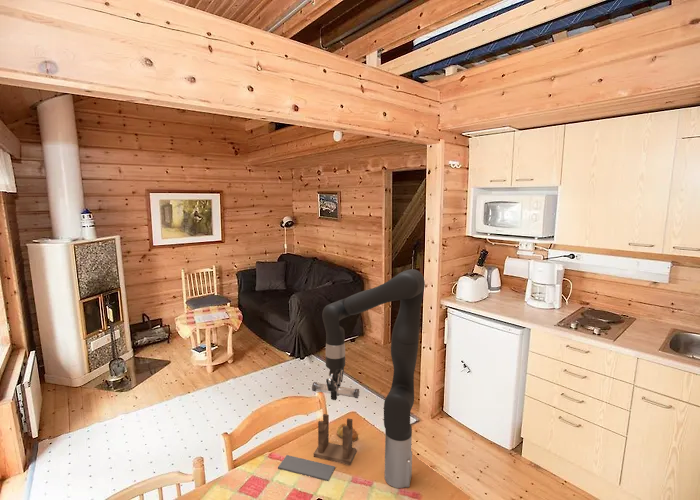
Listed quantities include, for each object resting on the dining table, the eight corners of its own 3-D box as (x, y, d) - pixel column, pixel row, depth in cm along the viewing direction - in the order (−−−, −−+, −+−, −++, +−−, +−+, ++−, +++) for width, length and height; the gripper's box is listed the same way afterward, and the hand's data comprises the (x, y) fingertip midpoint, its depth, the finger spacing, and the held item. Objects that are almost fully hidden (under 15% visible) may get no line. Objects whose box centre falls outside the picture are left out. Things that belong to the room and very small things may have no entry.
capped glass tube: (359, 395, 135) (359, 387, 135) (356, 400, 132) (356, 391, 132) (315, 388, 141) (315, 380, 140) (312, 392, 138) (311, 384, 137)
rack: (356, 451, 140) (356, 418, 139) (350, 465, 133) (350, 430, 131) (321, 444, 145) (321, 411, 144) (313, 456, 137) (313, 422, 136)
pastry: (361, 437, 150) (361, 429, 150) (351, 445, 145) (351, 436, 145) (345, 428, 156) (345, 420, 156) (334, 435, 151) (334, 427, 151)
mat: (335, 467, 132) (335, 466, 131) (328, 481, 125) (328, 479, 125) (286, 456, 138) (286, 454, 138) (277, 468, 131) (277, 467, 131)
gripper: (338, 362, 127) (338, 408, 129) (350, 348, 140) (350, 390, 142) (319, 359, 129) (319, 404, 131) (332, 346, 143) (332, 387, 144)
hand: (335, 397), depth 137 cm, fingers closed on capped glass tube, 3 cm apart
